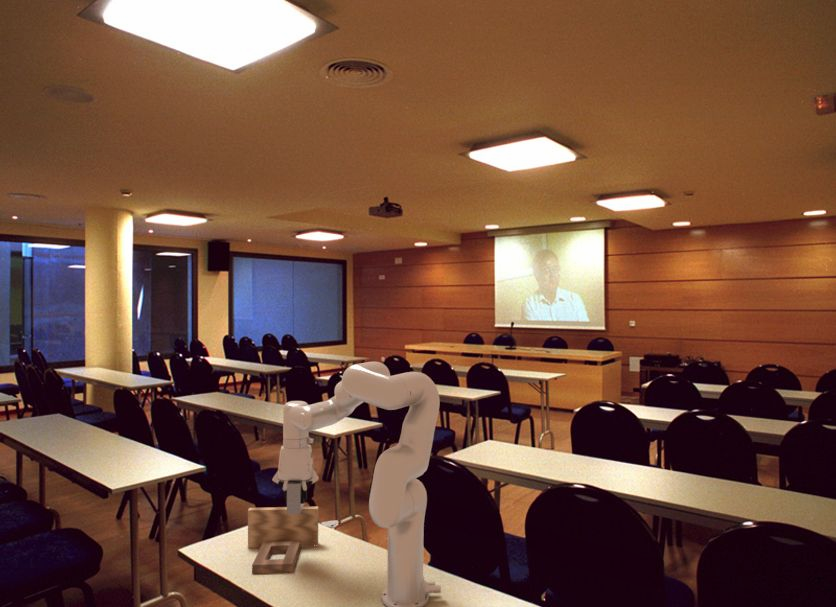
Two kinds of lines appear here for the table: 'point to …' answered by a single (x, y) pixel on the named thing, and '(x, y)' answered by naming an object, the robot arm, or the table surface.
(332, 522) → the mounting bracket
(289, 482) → the tall grey rectangular prism
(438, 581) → the table surface
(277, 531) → the wooden backboard stand
